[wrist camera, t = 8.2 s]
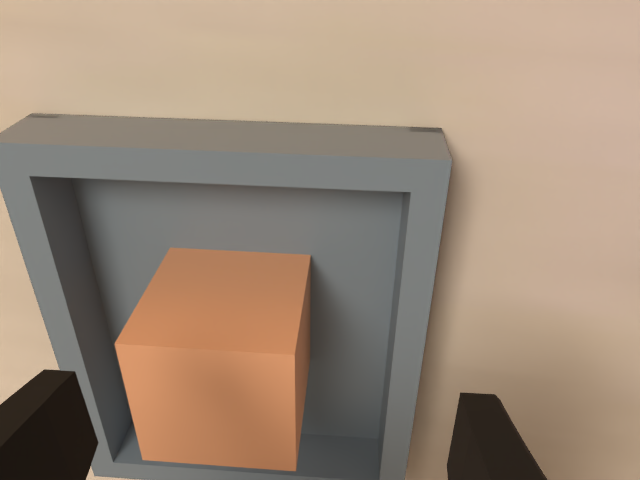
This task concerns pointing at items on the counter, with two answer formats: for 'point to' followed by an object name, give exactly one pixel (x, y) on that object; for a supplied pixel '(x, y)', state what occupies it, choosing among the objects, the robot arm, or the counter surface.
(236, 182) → the slate tray
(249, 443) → the orange block
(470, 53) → the counter surface
